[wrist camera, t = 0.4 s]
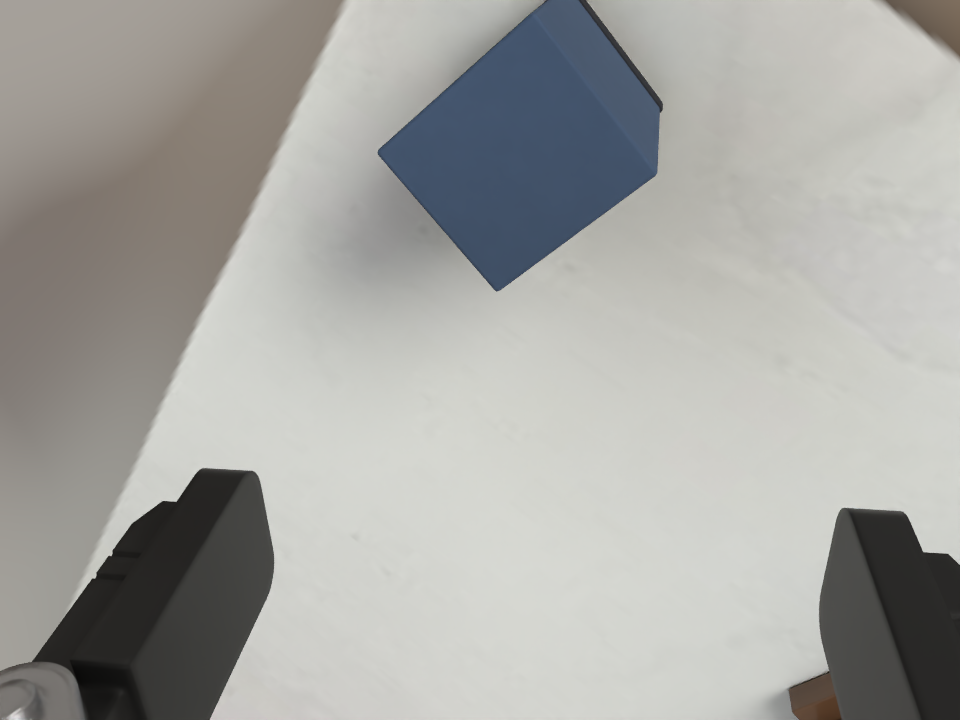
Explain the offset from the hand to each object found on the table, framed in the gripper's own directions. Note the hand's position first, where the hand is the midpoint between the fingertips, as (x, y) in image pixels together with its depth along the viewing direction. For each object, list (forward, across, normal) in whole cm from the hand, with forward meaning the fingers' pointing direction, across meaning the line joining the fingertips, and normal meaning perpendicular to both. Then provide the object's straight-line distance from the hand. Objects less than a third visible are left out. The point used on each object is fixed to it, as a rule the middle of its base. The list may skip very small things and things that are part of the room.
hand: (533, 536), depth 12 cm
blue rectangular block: (+18, +1, -2) cm, 18 cm away
